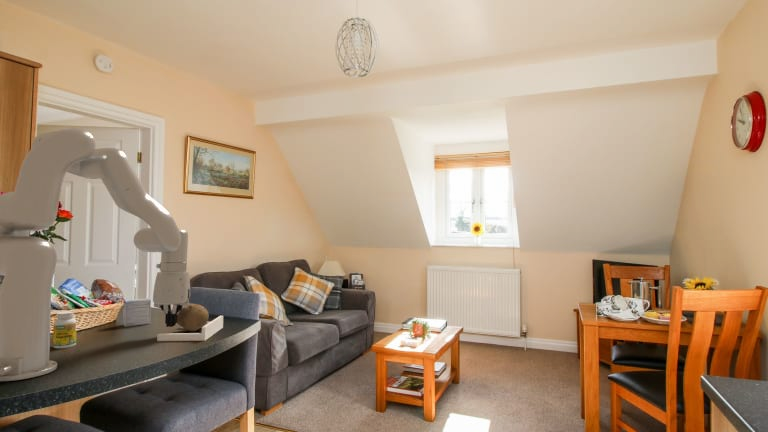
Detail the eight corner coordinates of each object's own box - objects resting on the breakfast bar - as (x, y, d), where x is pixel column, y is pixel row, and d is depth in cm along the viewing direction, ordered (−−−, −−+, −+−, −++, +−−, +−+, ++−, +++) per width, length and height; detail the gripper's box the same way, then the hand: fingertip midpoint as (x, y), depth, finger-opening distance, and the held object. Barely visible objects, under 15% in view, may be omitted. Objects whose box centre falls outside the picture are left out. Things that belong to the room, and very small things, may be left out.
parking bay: (205, 340, 134) (205, 327, 134) (157, 341, 133) (157, 327, 133) (223, 327, 152) (223, 315, 152) (181, 327, 151) (181, 315, 151)
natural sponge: (179, 341, 143) (211, 333, 148) (178, 321, 138) (211, 313, 144) (174, 321, 149) (205, 314, 154) (173, 302, 145) (205, 295, 150)
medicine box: (147, 322, 160) (148, 298, 161) (150, 324, 157) (151, 299, 157) (122, 325, 155) (123, 300, 156) (125, 327, 152) (125, 301, 152)
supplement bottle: (76, 343, 130) (77, 310, 131) (75, 347, 126) (76, 313, 126) (53, 345, 128) (54, 311, 128) (52, 349, 123) (53, 314, 123)
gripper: (144, 268, 138) (140, 328, 137) (193, 268, 139) (190, 328, 138) (154, 266, 146) (151, 323, 144) (201, 267, 146) (199, 324, 145)
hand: (170, 325), depth 141 cm, fingers closed
